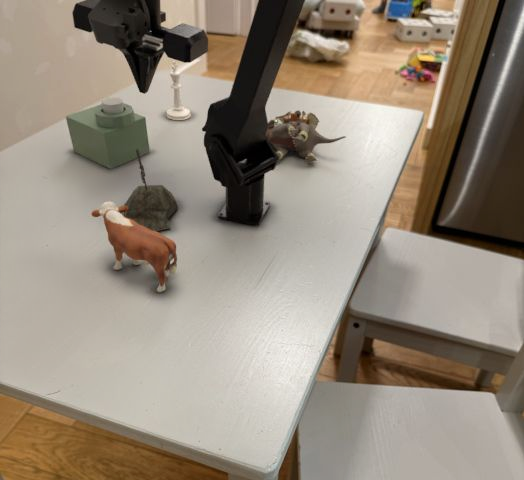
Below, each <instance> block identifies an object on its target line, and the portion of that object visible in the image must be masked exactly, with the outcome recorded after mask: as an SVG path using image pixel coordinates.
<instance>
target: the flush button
mask: <svg viewBox="0 0 524 480" xmlns="http://www.w3.org/2000/svg"><path fill="white" fill-rule="evenodd" d="M123 103H124V101H123V99H122V98H120V97H115V96H113V97H105V98H103V99H102V100H101V104H102V108H103V113H105V114H119V113H122V112H124V107H123Z"/></svg>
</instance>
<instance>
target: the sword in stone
mask: <svg viewBox="0 0 524 480" xmlns="http://www.w3.org/2000/svg"><path fill="white" fill-rule="evenodd" d="M136 153H137V156H138V158H137V160H138V165H139V170H140V171H139V172H140V178H141V181H142V184H144V185H138V186H137V187H136V188H135V189H134V190H133V191H132V193H131V194H130V196H129V197H128V199H127V200H126V201H125V203H124V204H123V206H127V207H128V211H126V212H123V216H124V217H126V218H129V219H132V220H134V221H135V222H136V223H138V224H139V225H142V226H144V227H146V228H148V229H150V230H152V231H156V232H160V231H163V230H168V229H171V223H170V221H169V220H170V219H169V218H170V217H172V215H173V214H174V213H175V212H176V211H177V210H178V208H179V206H178V203H177V200H176V197H175V196H174V194H173V192H171V191H170V190H169V189H167V188H166V187H165V186H164V185H162V184H153V185H152V184H150V185H149V184H148V185H147V182H146V172H145V168H144V167H145V166H144V165H143V163H142V159H141V156H140V154H139V150H138V148H136Z"/></svg>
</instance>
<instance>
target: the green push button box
mask: <svg viewBox="0 0 524 480" xmlns="http://www.w3.org/2000/svg"><path fill="white" fill-rule="evenodd" d="M123 107H124V112H122V113H119V114H105V113H103V108H102V103H101V104H98V105H95V106H92V107H89V108H86V109H83V110H80V111H77V112H73V113H71V114H67V115H65V120H66V124H67V128H68V133H69V136H70V141H71V144H72V149H73V153H76V154H78V155H80V156H82V157H84V158H86V159H88V160H90V161H93V162H95V163H96V164H99V165H101V166H103V167H105V168H108V169H109V170H112V169H115V168H117V167H119V166H121V165H124V164H126V163H128V162H131V161H133V160H136V159H138V156H137V153H136V148H138V150H139V154H140V157H142V156H144V155H147V154H149V153H150V143H149V136H148V126H147V120H146V116H143V115H141V114H139V113H136V112H135V110H134V107H133V106H132V105H130V104H128V103H124V102H123Z"/></svg>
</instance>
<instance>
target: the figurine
mask: <svg viewBox="0 0 524 480" xmlns="http://www.w3.org/2000/svg"><path fill="white" fill-rule="evenodd" d="M279 121H280V123H279ZM319 123H320V120H319V119H318V117H317V116H316V114H314V113H313V112H308V113H306V111H304V110H302V111H300V110H295V112H293V113H292V112H291V111H290V110H289V111H287V113H285V114H282V115H279V116H276V117H275V118H274V119H270V120H269V121H268V127H267V132H266V137H267V139H268V140H269V142H270V144H271V145H272V147H273V148H274V149H276V151H275V152H276V154H277V156H278V158H279V160H282V159H283V157H285V156H286V155H287V154H288V153H289V151H293V152H298V153H297V154H298V155H299V157H301V158H305V159H304V161H305V164H310V163H313V162H318V159H316V158H317V156H316V155H315V153H312V151H313V150H314V149H315V147H316V146H317V145H320V144H321V145H322V144H333V143H335V142H337V141H341V140H343V139H345V138H347V136H345V135H344V136H340V137H336V138H328V137H326V136H323V135H322V134H320V133H319V131H317V130H316V128H317V127H318V126H319V125H318V124H319Z"/></svg>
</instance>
